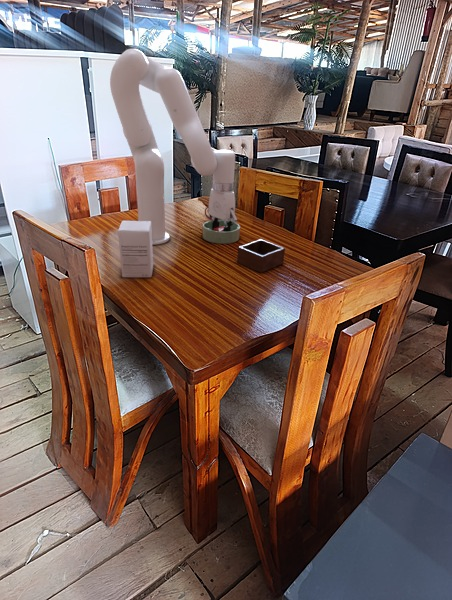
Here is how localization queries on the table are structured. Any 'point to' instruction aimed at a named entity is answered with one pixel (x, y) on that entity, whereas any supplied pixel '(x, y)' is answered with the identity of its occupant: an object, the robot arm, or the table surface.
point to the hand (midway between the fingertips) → (221, 233)
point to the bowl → (220, 233)
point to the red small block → (219, 228)
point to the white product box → (136, 248)
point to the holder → (260, 255)
